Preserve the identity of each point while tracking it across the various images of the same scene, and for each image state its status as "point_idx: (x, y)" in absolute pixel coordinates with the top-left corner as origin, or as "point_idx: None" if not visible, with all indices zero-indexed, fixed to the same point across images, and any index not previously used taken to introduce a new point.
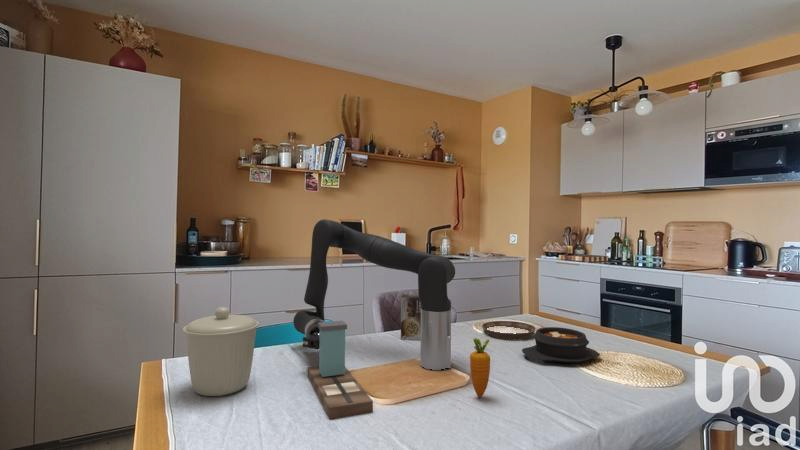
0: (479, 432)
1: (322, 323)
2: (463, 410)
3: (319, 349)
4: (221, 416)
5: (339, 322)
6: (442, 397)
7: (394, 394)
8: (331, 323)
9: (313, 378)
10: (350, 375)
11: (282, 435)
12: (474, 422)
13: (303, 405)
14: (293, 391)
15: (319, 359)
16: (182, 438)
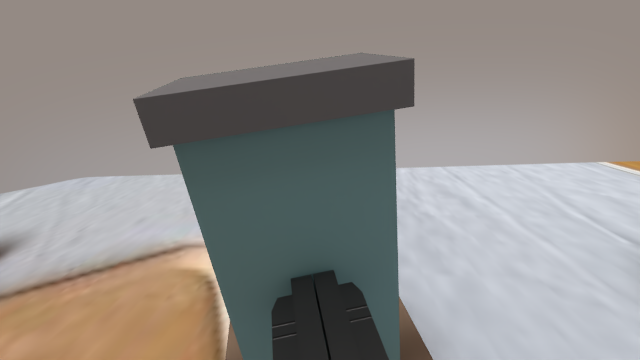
0: (134, 187)
1: (362, 61)
2: (84, 225)
3: (397, 270)
4: (610, 212)
5: (204, 82)
6: (54, 266)
7: (145, 287)
8: (282, 70)
9: (417, 332)
10: (236, 345)
11: (417, 177)
12: (113, 201)
13: (412, 247)
14: (497, 334)
15: (397, 322)
16: (599, 168)
